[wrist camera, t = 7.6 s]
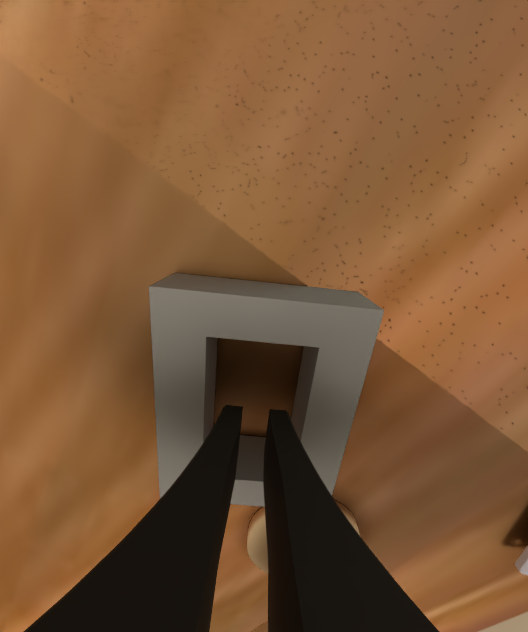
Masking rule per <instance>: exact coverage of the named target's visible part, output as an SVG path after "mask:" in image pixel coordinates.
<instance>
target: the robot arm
mask: <svg viewBox="0 0 528 632" xmlns="http://www.w3.org/2000/svg"><path fill="white" fill-rule="evenodd" d="M242 409H243V407H240V406H229V405H226V406H225V407H223V409H222V412H221V414H220V416H219V418H218V420H217V421H216V423H215V425H214V427H213V428H212V430H211V432H210V433H209V435H208V436H207V438H206V439H205V441H204V442H203V444H202V445H201V447H200V449H199V450H198V451H197V453H196V454H195V456H194V457H193V458H192V460H191V461H190V462H189V464H188V465H187V466H186V468H185V469H184V470H183V472H182V473H181V474H180V476H179V477H178V478H177V479H176V481H175V482H174V483H173V484H172V486H171V487H170V488H169V489H168V490H167V492H166V493H165V494H164V495H163V496H162V497H161V499H160V500H159V501H158V502H157V503H156V504H155V506H154V507H153V508H152V509H151V510H150V511H149V512H148V513H147V514H146V515H145V516H144V518H143V519H142V520H141V521H140V522H139V523H138V524H137V525H136V526H135V527H134V528H133V529H132V531H131V532H130V533H129V534H128V535H127V536H126V537H125V538H124V539H123V540H122V541H121V542H120V543H119V544H118V545H117V546H116V547H115V548H114V549H113V550H112V551H111V552H110V553H109V554H108V555H107V556H106V557H105V558H103V559H102V560H101V561H100V562H99V563H98V564H97V565H96V566H95V567H94V568H93V569H92V570H91V571H90V572H89V573H88V574H87V575H86V576H85V577H84V578H83V579H82V580H81V581H80V582H79V583H78V584H76V585H75V586H74V587H73V588H72V589H71V590H70V591H69V592H68V593H67V594H66V595H65V596H64V597H62V598H61V599H60V600H59V601H58V602H57V603H56V604H55V605H53V606H52V607H51V608H50V609H49V610H48V611H47V612H45V613H44V614H43V615H42V616H41V617H40V618H39V619H38V620H36V621H35V622H34V623H33V624H32V625H31V626H30V627H28V628H27V629H26V630H25V631H24V632H209V629H210V622H211V614H212V607H213V599H214V592H215V584H216V577H217V570H218V564H219V558H220V552H221V547H222V542H223V537H224V532H225V528H226V523H227V518H228V513H229V508H230V503H231V498H232V493H233V488H234V483H235V478H236V469H237V460H238V451H239V441H240V431H241V420H242ZM263 486H264V503H265V519H266V536H267V552H268V632H439V631H438V630H437V629H436V627H435V626H434V625H433V624H432V623H431V622H430V621H429V620H428V618H427V617H426V616H425V615H424V614H423V613H422V612H421V610H420V609H419V608H418V607H417V606H416V605H415V603H414V602H413V601H412V600H411V599H410V598H409V597H408V595H407V594H406V593H405V592H404V591H403V590H402V588H401V587H400V586H399V585H398V583H397V582H396V581H395V580H394V578H393V577H392V576H391V575H390V574H389V572H388V571H387V570H386V569H385V567H384V566H383V565H382V564H381V562H380V561H379V560H378V559H377V557H376V556H375V555H374V554H373V552H372V551H371V550H370V549H369V547H368V546H367V545H366V544H365V542H364V541H363V540H362V538H361V537H360V535H359V534H358V533H357V531H356V530H355V529H354V527H353V526H352V525H351V523H350V522H349V520H348V519H347V518H346V516H345V515H344V513H343V512H342V510H341V509H340V507H339V506H338V505H337V503H336V501H335V500H334V498H333V497H332V495H331V494H330V492H329V491H328V489H327V487H326V486H325V484H324V483H323V481H322V479H321V478H320V476H319V474H318V473H317V471H316V469H315V467H314V466H313V464H312V462H311V460H310V458H309V456H308V455H307V453H306V451H305V449H304V447H303V445H302V443H301V441H300V439H299V437H298V435H297V433H296V431H295V428H294V426H293V424H292V421H291V419H290V416H289V414H288V412H287V411H285V410H274V409H270V411H269V419H268V426H267V433H266V440H265V448H264V469H263ZM515 566H516V568H517V569H518V570H519V572H520V573H522V574H524V575H528V545H527V547H526V548H525V549H524V551H523V552H522V553H521V555H520V556H519V558H518V559H517V560H516V562H515Z"/></svg>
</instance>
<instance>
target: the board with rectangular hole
mask: <svg viewBox="0 0 528 632" xmlns="http://www.w3.org/2000/svg"><path fill="white" fill-rule="evenodd" d="M149 297H150V316H151V336H152V355H153V374H154V393H155V412H156V431H157V451H158V470H159V489H160V499H161V497H162V496H163V495H164V494H165V493H166V492H167V490H168V489H169V488H170V487H171V486H172V484H173V483H174V482H175V481H176V479H177V478H178V477H179V476H180V474H181V473H182V472H183V470H184V469H185V468H186V466H187V465H188V464H189V462H190V461H191V460H192V458H193V457H194V456H195V454H196V453H197V451H198V450H199V449H200V447H201V445H202V444H203V442H204V441H205V439H206V438H207V436H208V435H209V433H210V432H211V430H212V428H213V427H214V406H215V384H216V362H217V341H218V338H225V339H236V340H246V341H256V342H267V343H277V344H287V345H298V346H304V348H303V354H302V359H301V365H300V371H299V377H298V382H297V388H296V394H295V399H294V405H293V411H292V416H291V421H292V424H293V426H294V428H295V431H296V433H297V435H298V437H299V439H300V441H301V443H302V445H303V447H304V449H305V451H306V453H307V455H308V456H309V458H310V460H311V462H312V464H313V466H314V467H315V469H316V471H317V473H318V474H319V476H320V478H321V479H322V481H323V483H324V484H325V486H326V487H327V489H328V491H329V492H330V494H331V495H332V494H333V490H334V486H335V483H336V479H337V476H338V472H339V469H340V465H341V462H342V458H343V455H344V451H345V447H346V444H347V440H348V437H349V433H350V430H351V426H352V423H353V419H354V415H355V412H356V408H357V405H358V401H359V398H360V394H361V391H362V387H363V383H364V380H365V376H366V373H367V369H368V366H369V362H370V359H371V355H372V352H373V348H374V344H375V341H376V337H377V334H378V330H379V327H380V323H381V320H382V316H383V312H384V310H383V309H382V308H380V307H379V306H377V305H376V304H374V303H373V302H372V301H370V300H369V299H367V298H366V297H365V296H363V295H362V294H360V293H359V292H354V291H345V290H335V289H326V288H316V287H307V286H297V285H287V284H278V283H268V282H259V281H249V280H239V279H230V278H220V277H211V276H201V275H191V274H182V273H174V274H172V275H170V276H168V277H166V278H164V279H162V280H160V281H158V282H156V283H154V284H152V285H150V286H149ZM265 440H266V437H257V436H246V435H240V441H239V451H238V460H237V469H236V478H235V483H234V488H233V493H232V498H231V503H230V504H237V505H250V506H263V507H265V503H264V486H263V469H264V448H265Z"/></svg>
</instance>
